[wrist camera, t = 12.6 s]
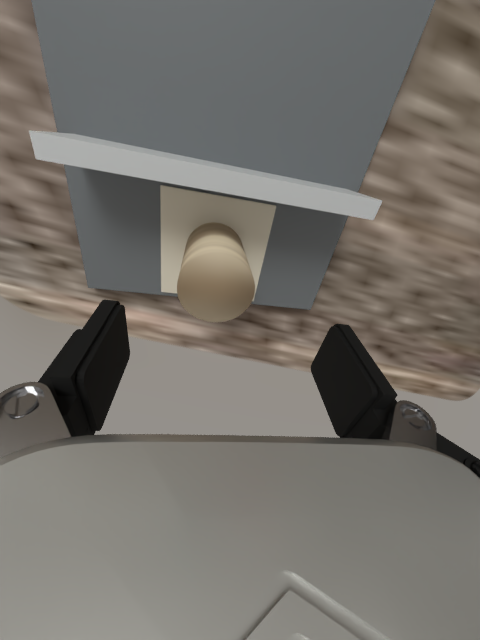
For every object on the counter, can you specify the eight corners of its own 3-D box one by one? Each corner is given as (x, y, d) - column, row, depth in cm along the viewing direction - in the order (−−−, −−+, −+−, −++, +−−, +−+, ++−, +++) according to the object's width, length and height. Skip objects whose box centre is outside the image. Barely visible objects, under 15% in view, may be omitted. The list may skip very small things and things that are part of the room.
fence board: (10, -160, 11) (-149, -404, 6) (426, 0, 15) (530, -69, 10) (92, 282, 23) (61, 319, 18) (307, 304, 27) (328, 339, 22)
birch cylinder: (187, 217, 20) (177, 247, 14) (248, 227, 20) (262, 259, 15) (184, 274, 22) (175, 319, 17) (238, 281, 23) (247, 325, 18)
